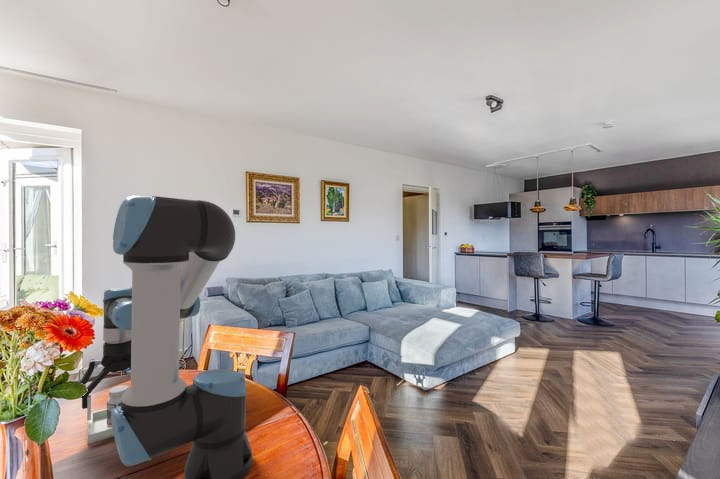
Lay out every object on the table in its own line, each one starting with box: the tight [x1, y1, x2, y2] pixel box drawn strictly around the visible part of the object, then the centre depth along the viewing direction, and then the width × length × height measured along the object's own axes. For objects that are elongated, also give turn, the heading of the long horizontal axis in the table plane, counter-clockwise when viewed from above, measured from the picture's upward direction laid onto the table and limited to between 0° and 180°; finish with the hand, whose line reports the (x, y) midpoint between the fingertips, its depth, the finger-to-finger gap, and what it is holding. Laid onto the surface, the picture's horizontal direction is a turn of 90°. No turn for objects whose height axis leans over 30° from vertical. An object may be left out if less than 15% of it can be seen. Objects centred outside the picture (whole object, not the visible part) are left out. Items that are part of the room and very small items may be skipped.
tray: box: [87, 407, 114, 445], centre depth 96 cm, size 14×14×2 cm
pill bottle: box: [106, 384, 129, 427], centre depth 96 cm, size 6×6×10 cm
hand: (118, 410), depth 96 cm, fingers open, 13 cm apart
